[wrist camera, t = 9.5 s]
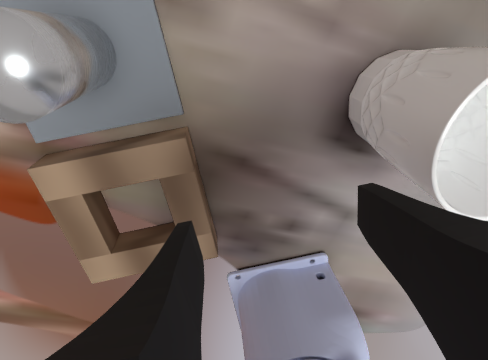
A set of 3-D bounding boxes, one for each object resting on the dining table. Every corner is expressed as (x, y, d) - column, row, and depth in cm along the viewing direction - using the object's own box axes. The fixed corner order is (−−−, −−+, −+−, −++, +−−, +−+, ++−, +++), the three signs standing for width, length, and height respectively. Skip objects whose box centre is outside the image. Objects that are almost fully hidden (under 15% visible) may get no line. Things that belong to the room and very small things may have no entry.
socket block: (187, 126, 21) (185, 137, 19) (217, 237, 25) (217, 256, 23) (46, 154, 20) (26, 169, 18) (102, 261, 25) (92, 283, 23)
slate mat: (135, -71, 16) (133, -73, 15) (183, 112, 20) (183, 114, 20) (-54, -37, 15) (-60, -38, 15) (39, 141, 20) (36, 143, 20)
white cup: (460, 47, 21) (655, 58, 12) (419, 152, 24) (545, 223, 15) (356, 33, 19) (483, 35, 10) (328, 146, 23) (406, 219, 14)
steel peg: (102, 11, 17) (28, -6, 10) (125, 82, 19) (78, 113, 12) (31, 22, 17) (-96, 14, 10) (62, 93, 18) (-26, 132, 11)
